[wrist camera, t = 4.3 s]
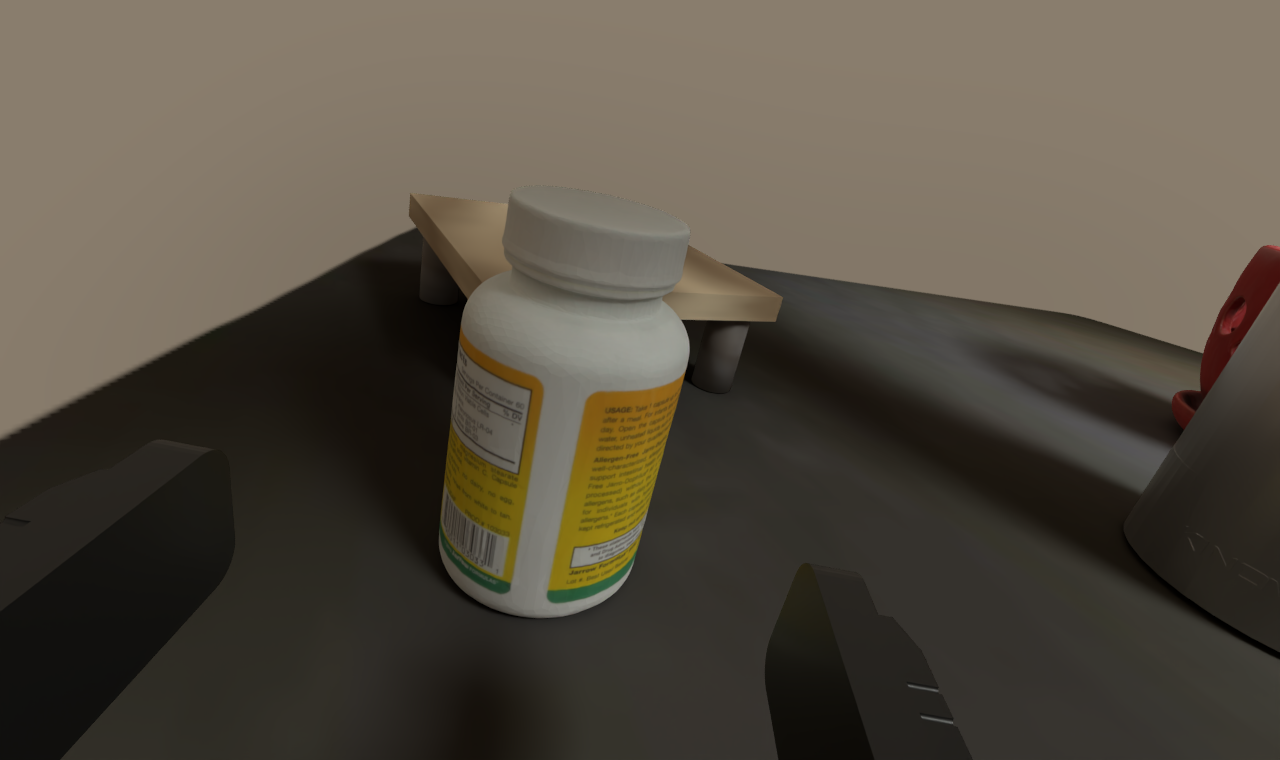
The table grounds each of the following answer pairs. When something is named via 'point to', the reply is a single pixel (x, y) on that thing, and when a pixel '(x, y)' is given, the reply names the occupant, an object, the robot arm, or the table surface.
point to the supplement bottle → (563, 402)
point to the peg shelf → (473, 252)
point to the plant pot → (1232, 327)
